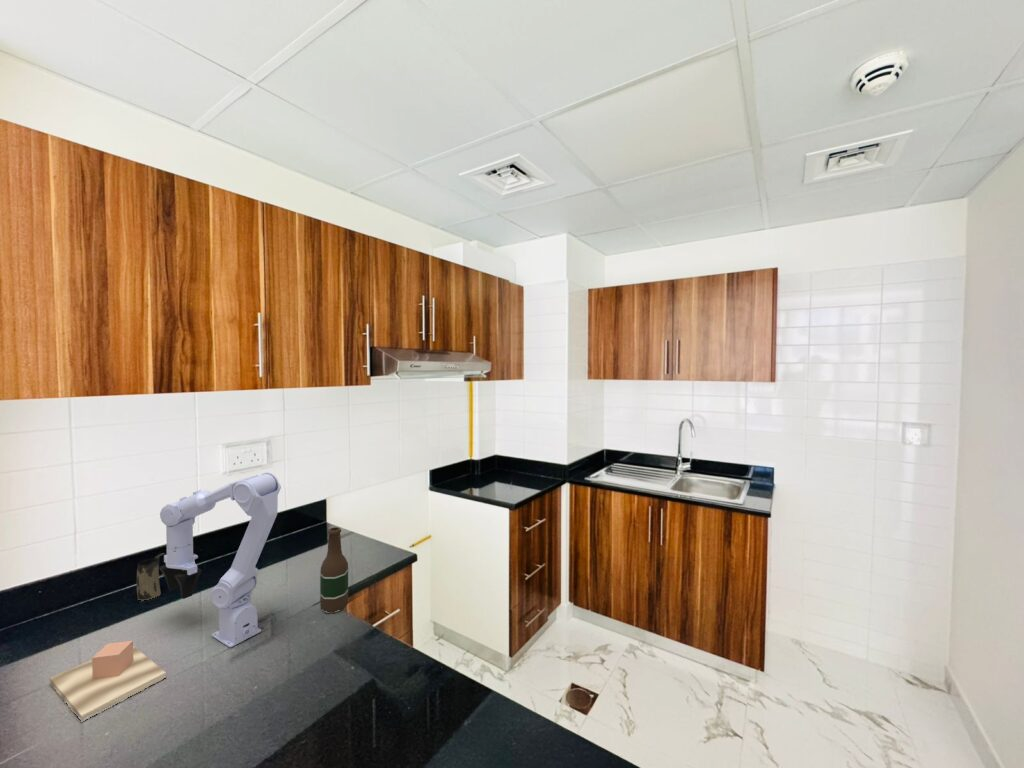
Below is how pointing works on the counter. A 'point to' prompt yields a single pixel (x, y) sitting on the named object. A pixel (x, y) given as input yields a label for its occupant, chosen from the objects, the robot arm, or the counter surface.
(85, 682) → the birch board
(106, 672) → the terracotta cube
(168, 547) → the robot arm
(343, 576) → the beer bottle
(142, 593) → the mug
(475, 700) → the counter surface
